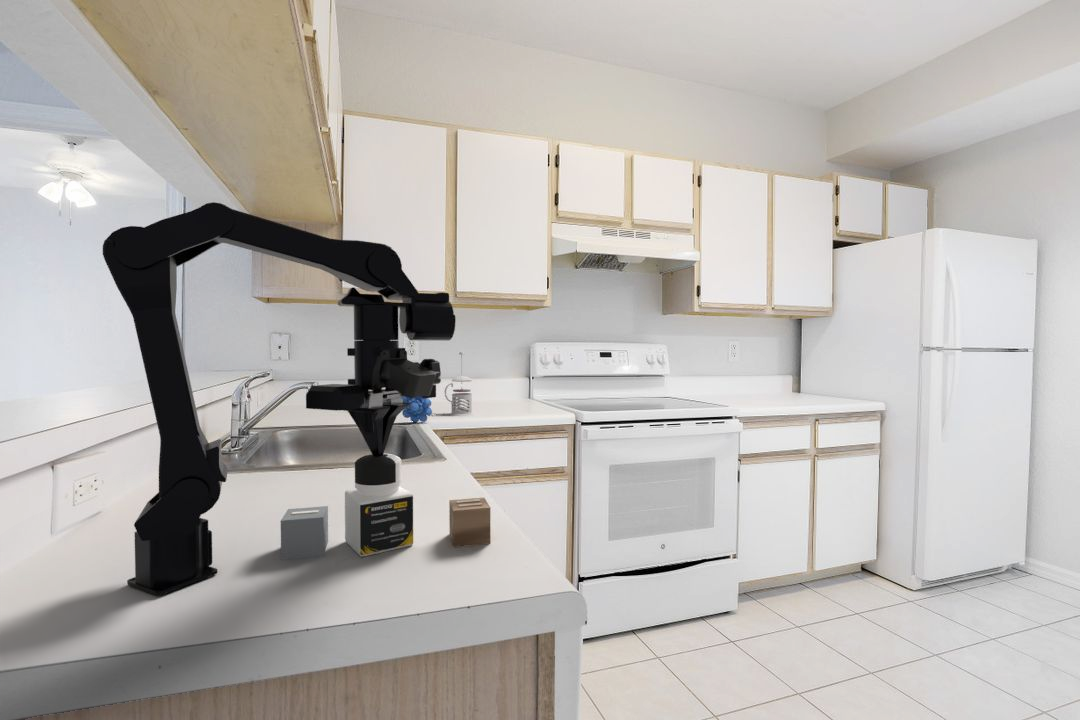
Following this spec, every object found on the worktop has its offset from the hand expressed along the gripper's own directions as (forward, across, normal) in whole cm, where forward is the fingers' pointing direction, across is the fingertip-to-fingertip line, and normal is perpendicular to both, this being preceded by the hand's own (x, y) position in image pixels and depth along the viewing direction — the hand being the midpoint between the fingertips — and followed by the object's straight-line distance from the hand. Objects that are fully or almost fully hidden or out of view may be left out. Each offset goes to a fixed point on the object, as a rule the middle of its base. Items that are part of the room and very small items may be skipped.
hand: (378, 456), depth 71 cm
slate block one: (+12, -6, +7) cm, 15 cm away
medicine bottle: (+12, 0, 0) cm, 12 cm away
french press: (+12, +119, +70) cm, 139 cm away
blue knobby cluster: (+12, +92, +70) cm, 116 cm away
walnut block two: (+12, +7, -10) cm, 17 cm away
